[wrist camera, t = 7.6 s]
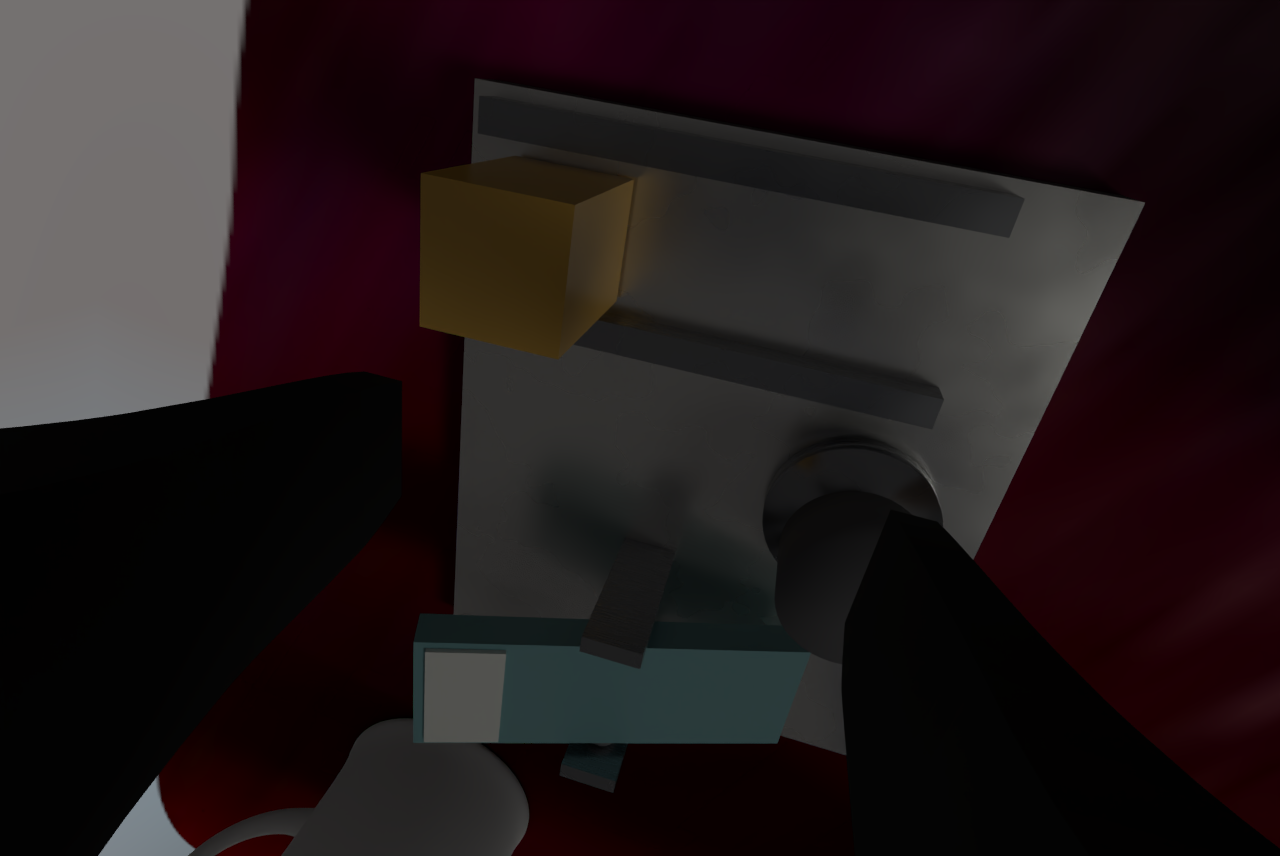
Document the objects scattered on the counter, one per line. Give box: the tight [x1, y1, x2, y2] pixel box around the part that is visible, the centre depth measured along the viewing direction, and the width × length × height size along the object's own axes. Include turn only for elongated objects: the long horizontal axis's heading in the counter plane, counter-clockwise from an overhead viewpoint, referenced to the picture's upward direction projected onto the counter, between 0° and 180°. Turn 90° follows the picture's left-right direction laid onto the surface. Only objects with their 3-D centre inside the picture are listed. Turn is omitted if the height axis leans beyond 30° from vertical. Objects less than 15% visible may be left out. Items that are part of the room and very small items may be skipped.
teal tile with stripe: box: [413, 614, 811, 746], centre depth 19 cm, size 11×4×1 cm, turn 81°
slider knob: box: [420, 156, 634, 359], centre depth 15 cm, size 3×3×4 cm
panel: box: [454, 78, 1145, 793], centre depth 18 cm, size 15×18×6 cm
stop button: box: [774, 491, 912, 664], centre depth 16 cm, size 4×4×2 cm
